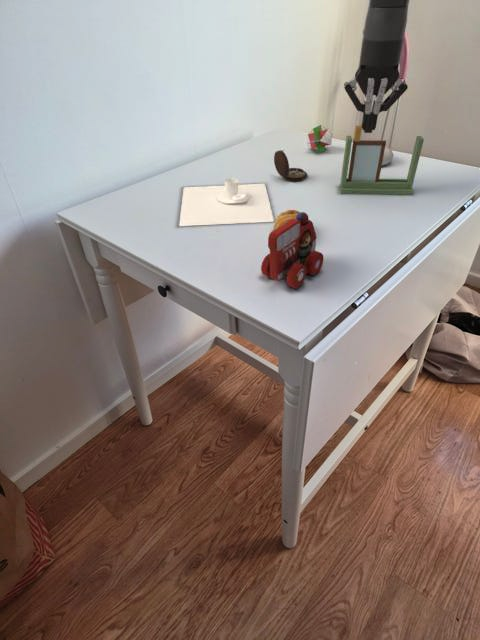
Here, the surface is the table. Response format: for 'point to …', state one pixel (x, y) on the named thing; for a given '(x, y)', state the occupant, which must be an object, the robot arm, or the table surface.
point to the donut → (387, 156)
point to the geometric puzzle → (320, 138)
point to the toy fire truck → (292, 252)
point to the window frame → (384, 184)
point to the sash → (365, 159)
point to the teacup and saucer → (225, 204)
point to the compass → (287, 168)
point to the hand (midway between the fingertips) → (367, 131)
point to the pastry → (285, 217)
